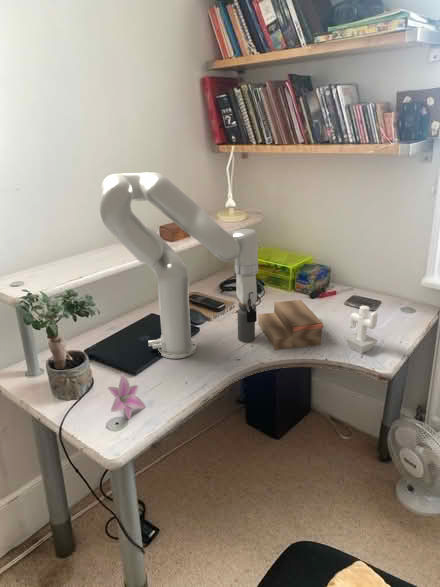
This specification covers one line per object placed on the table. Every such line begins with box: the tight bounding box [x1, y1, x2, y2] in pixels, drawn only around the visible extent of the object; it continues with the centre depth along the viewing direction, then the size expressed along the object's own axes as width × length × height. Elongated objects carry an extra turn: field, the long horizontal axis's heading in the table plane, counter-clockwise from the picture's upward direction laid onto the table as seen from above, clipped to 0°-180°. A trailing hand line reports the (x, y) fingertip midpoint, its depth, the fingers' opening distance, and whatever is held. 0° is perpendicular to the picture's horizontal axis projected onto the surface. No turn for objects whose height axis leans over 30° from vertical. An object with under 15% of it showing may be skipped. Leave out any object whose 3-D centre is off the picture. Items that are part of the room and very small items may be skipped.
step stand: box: [257, 299, 324, 351], centre depth 158 cm, size 16×21×8 cm
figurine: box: [344, 305, 379, 355], centre depth 145 cm, size 7×9×15 cm
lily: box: [107, 372, 146, 421], centre depth 120 cm, size 11×11×9 cm
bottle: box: [237, 299, 256, 344], centre depth 154 cm, size 6×6×15 cm
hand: (248, 315), depth 154 cm, fingers open, 9 cm apart
